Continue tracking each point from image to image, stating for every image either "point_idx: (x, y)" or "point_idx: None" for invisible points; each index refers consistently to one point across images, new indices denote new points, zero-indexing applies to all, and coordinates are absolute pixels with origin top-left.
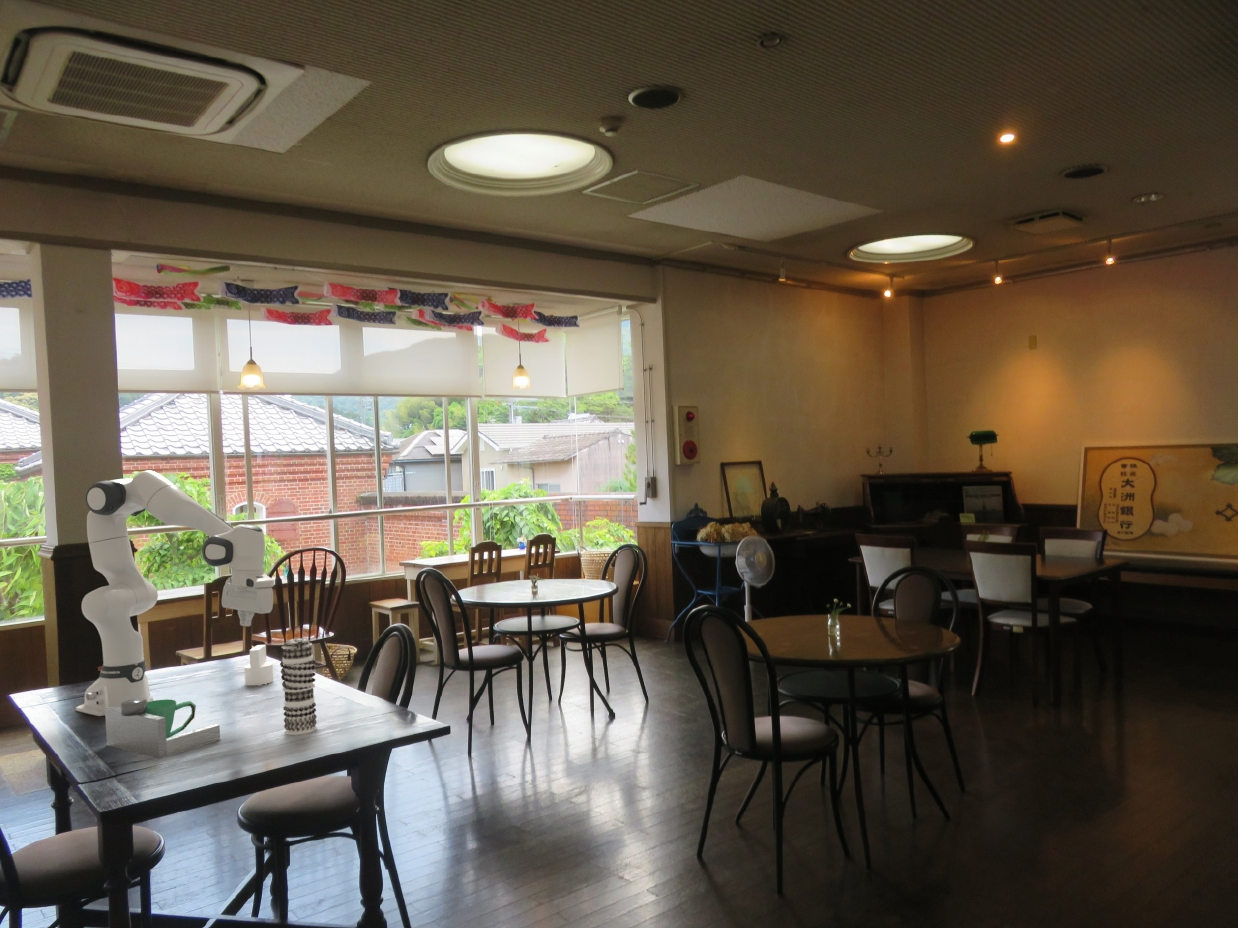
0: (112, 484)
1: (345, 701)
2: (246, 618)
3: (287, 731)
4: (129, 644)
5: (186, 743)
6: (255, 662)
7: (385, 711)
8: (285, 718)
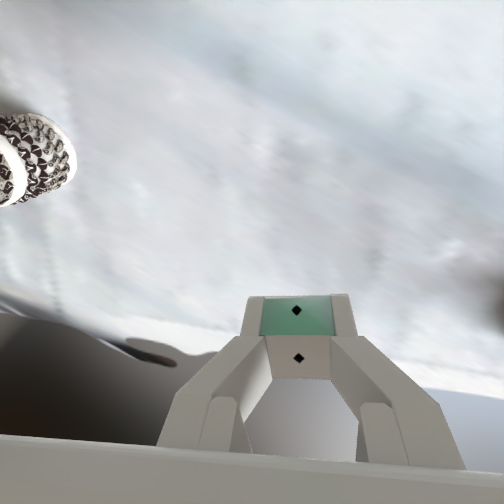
0: None
1: (194, 315)
2: (223, 353)
3: (31, 118)
4: None
5: None
6: None
7: (69, 309)
8: (15, 122)
